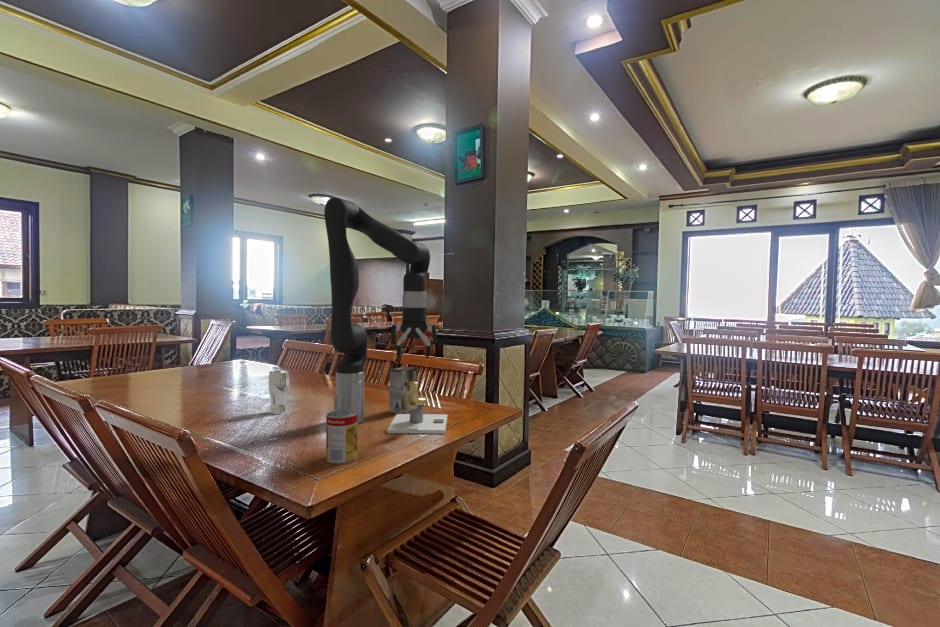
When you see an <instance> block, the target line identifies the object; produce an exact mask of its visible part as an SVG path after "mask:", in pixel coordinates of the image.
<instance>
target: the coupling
mask: <svg viewBox="0 0 940 627" xmlns="http://www.w3.org/2000/svg"><path fill="white" fill-rule="evenodd" d="M406 404H409V405H410V409H416V408H417V406H418V405H423V406H424V405H426V404H428V397H426V396H424V395H419V381H417V382H416V381H412V382H410V394H409V397H407V398H406Z"/></svg>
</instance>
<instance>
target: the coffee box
mask: <svg viewBox="0 0 940 627" xmlns="http://www.w3.org/2000/svg"><path fill="white" fill-rule="evenodd" d="M388 375H389V377H388V378H389V381H388V382H389V383H388V384H389V392H388V393H389V394H388V396H389V400H388V402H389V403H388V404H389V408H388V409H389V413H392V412H395V413H394V414H397V413H400V414H402V413H404V414H406V413H405V412H407V413H410V412H409V411H410V405H409V404H406V398H407V397H409V394H410V382H412V381H416V382H418V367H414V366H401V367H396V368H391V369H389V372H388Z"/></svg>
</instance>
